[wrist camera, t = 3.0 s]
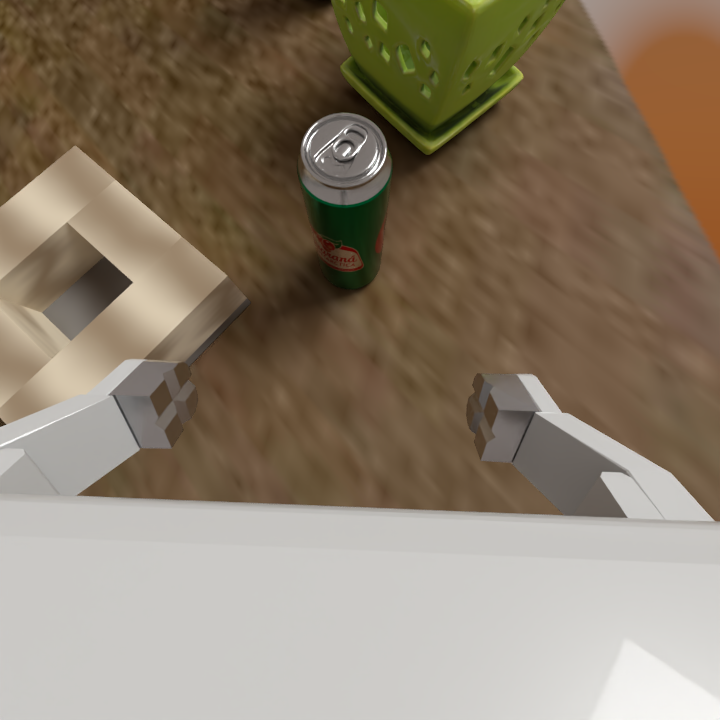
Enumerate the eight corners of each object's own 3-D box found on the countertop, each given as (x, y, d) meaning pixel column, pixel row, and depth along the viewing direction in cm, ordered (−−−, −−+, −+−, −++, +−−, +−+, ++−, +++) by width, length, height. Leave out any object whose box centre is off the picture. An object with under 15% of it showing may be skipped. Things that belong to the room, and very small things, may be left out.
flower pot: (425, 186, 30) (473, 11, 17) (323, 92, 32) (299, -127, 19) (529, 99, 31) (641, -116, 19) (427, 16, 33) (467, -229, 21)
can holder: (103, 454, 25) (40, 461, 20) (-26, 322, 27) (-111, 299, 22) (251, 302, 27) (227, 275, 22) (122, 192, 29) (75, 145, 24)
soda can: (309, 271, 28) (272, 159, 16) (343, 227, 29) (331, 89, 17) (358, 303, 27) (357, 211, 15) (391, 257, 28) (414, 136, 16)
